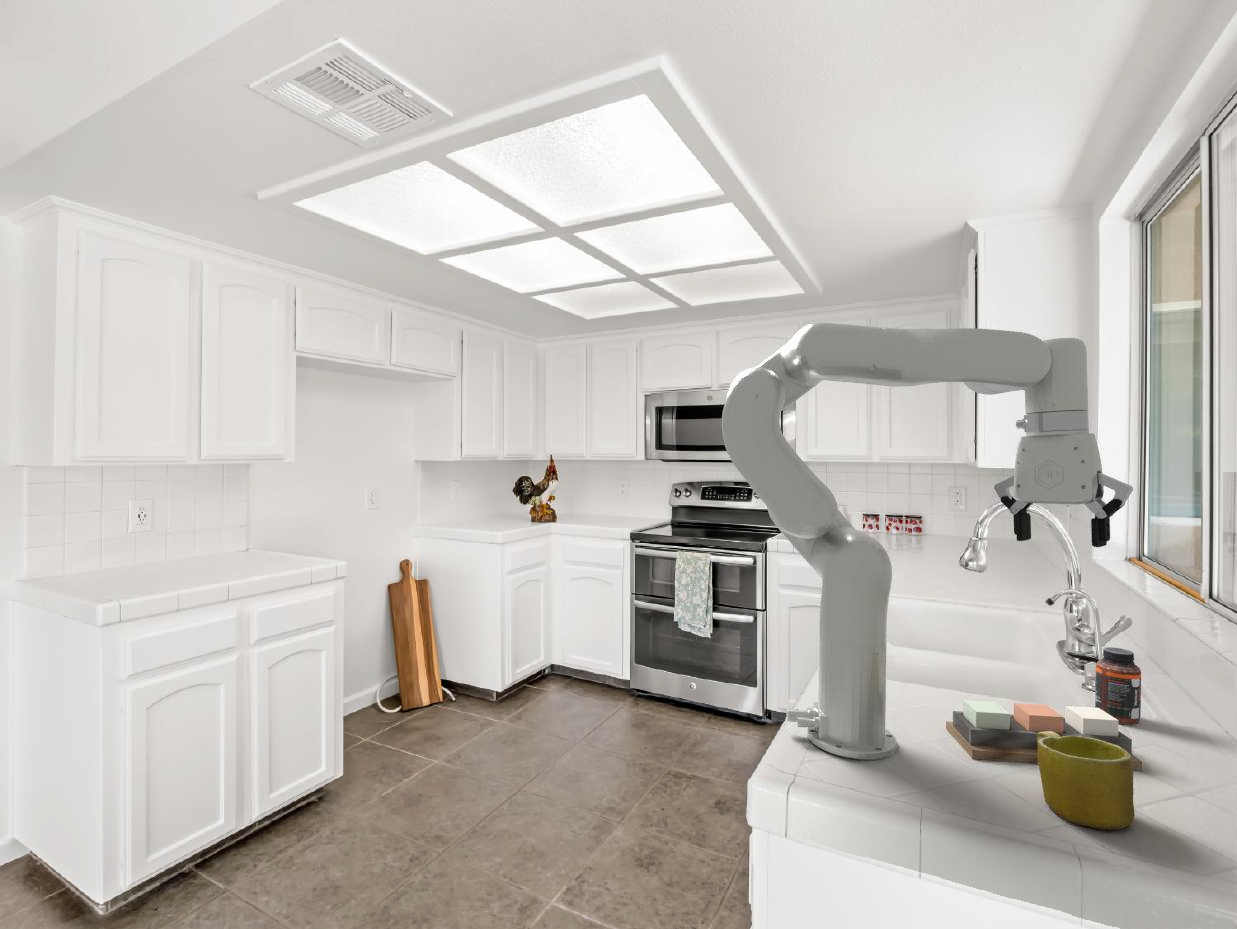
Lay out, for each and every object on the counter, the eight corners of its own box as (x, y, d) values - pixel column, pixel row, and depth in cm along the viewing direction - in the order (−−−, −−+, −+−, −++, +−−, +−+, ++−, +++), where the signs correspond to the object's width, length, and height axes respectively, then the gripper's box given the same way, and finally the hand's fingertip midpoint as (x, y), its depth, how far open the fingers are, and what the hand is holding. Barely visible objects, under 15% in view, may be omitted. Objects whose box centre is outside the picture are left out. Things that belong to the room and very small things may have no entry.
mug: (1177, 830, 70) (1136, 736, 72) (1078, 849, 72) (1042, 756, 74) (1119, 796, 82) (1085, 716, 84) (1035, 812, 83) (1005, 733, 86)
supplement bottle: (1149, 727, 102) (1150, 657, 102) (1107, 724, 103) (1108, 654, 103) (1127, 713, 108) (1128, 646, 108) (1087, 709, 109) (1088, 644, 109)
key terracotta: (1028, 731, 92) (1029, 715, 92) (1013, 718, 97) (1013, 703, 97) (1063, 733, 91) (1063, 717, 91) (1046, 720, 96) (1046, 704, 96)
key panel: (972, 758, 91) (972, 734, 91) (946, 729, 100) (946, 706, 100) (1142, 770, 88) (1142, 745, 88) (1097, 738, 98) (1098, 715, 97)
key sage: (975, 728, 93) (976, 712, 93) (963, 715, 98) (963, 700, 98) (1009, 730, 92) (1009, 714, 92) (995, 717, 97) (995, 701, 97)
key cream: (1083, 735, 91) (1083, 718, 91) (1065, 721, 96) (1065, 706, 96) (1118, 737, 90) (1118, 720, 90) (1098, 723, 95) (1098, 707, 95)
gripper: (981, 429, 97) (985, 540, 97) (1118, 420, 83) (1122, 551, 83) (1005, 428, 101) (1009, 536, 102) (1139, 421, 87) (1143, 546, 87)
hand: (1060, 543), depth 92 cm, fingers open, 9 cm apart
